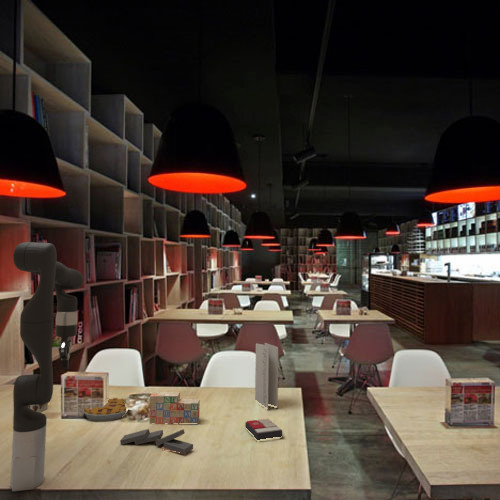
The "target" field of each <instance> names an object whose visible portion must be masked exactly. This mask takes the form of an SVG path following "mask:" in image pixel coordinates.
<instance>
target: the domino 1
mask: <svg viewBox="0 0 500 500" xmlns="http://www.w3.org/2000/svg"><path fill="white" fill-rule="evenodd" d="M149 433H151V432H150V429H149V428H147V429H143V430H139V431H135V432H132V433H127V434H124V435H123V437H122V438H121V439H120V440H119V441H120V445H121V446H122V445H125V444H129V443H132V442H134V441H137V440H141V439H145V438H146V437H147V436H148V435H149ZM134 443H135V442H134Z"/></svg>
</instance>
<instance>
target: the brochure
mask: <svg viewBox="0 0 500 500" xmlns="http://www.w3.org/2000/svg"><path fill="white" fill-rule="evenodd" d="M254 372H255V375H254V376H255V377H254V378H255V380H254V382H255V384H254V385H255V386H254V391H255V392H254V401H255V400H257V401H258V402H259V403H261V404H262V405H264V406H265V407H267V408H268V409H269V407H268V404H271V405H274V406H277V407H279V406H278V405H279V400H278V396H279V389H278V388H279V386H278V385H279V347H278V346H276V345H272V344H269V343H267V342H264V344H261V343H255V371H254Z"/></svg>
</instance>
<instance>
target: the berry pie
mask: <svg viewBox="0 0 500 500" xmlns="http://www.w3.org/2000/svg"><path fill="white" fill-rule="evenodd" d="M108 399H109V400H108V404H107V405H106V406H105V407H102V408H99V407H94V408H92V409H88V408H87V409H86V408H84V407H83V408H84V410H83V409H82V413H84V415H85V417H86V419H88V420H90V421H94V422H95V421H96V422H104V421H105V422H107V421H114V420H118V419H121V417H122V416H123V415H124V414H125V412H126V407H125V403H124V399H125V398H118V397H113V398H108ZM122 418H123V417H122Z"/></svg>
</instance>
